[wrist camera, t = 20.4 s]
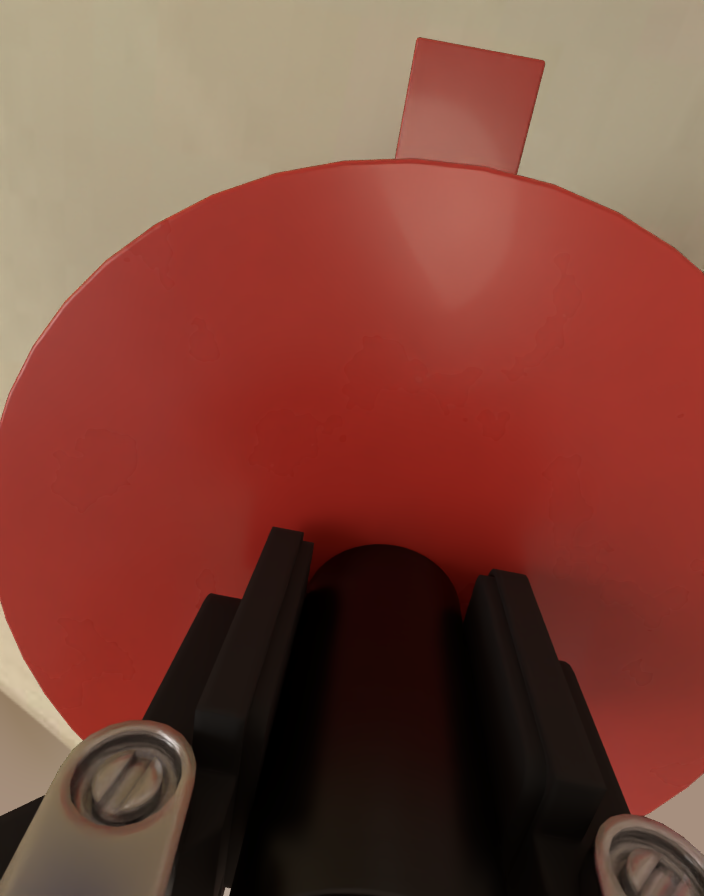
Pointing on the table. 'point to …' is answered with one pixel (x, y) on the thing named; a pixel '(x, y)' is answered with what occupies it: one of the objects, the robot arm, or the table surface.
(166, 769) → the robot arm
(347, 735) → the tin lid
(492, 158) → the tin
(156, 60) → the table surface
